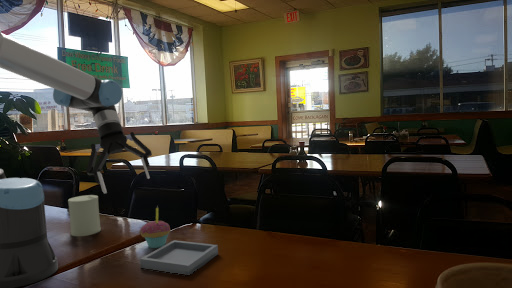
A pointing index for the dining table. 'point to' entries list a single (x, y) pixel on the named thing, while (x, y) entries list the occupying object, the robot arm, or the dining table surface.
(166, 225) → the cupcake
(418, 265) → the dining table surface
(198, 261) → the tray
